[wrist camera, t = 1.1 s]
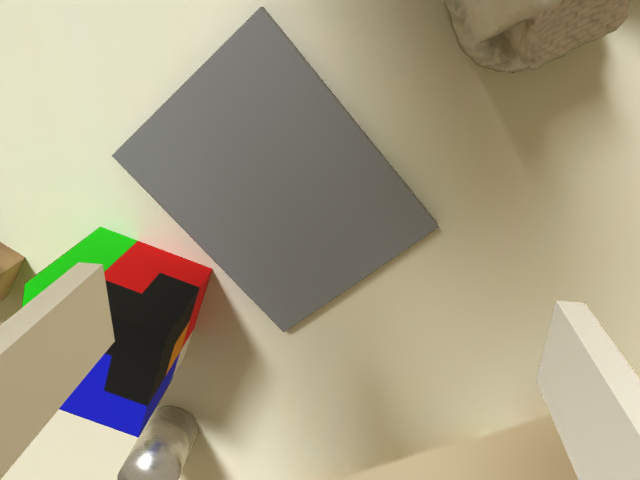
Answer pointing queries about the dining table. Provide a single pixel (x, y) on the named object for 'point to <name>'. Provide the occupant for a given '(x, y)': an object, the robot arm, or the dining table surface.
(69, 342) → the robot arm
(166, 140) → the charcoal mat
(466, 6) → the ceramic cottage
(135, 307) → the puzzle toy
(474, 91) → the dining table surface
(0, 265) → the walnut block
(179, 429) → the grey metal cylinder
